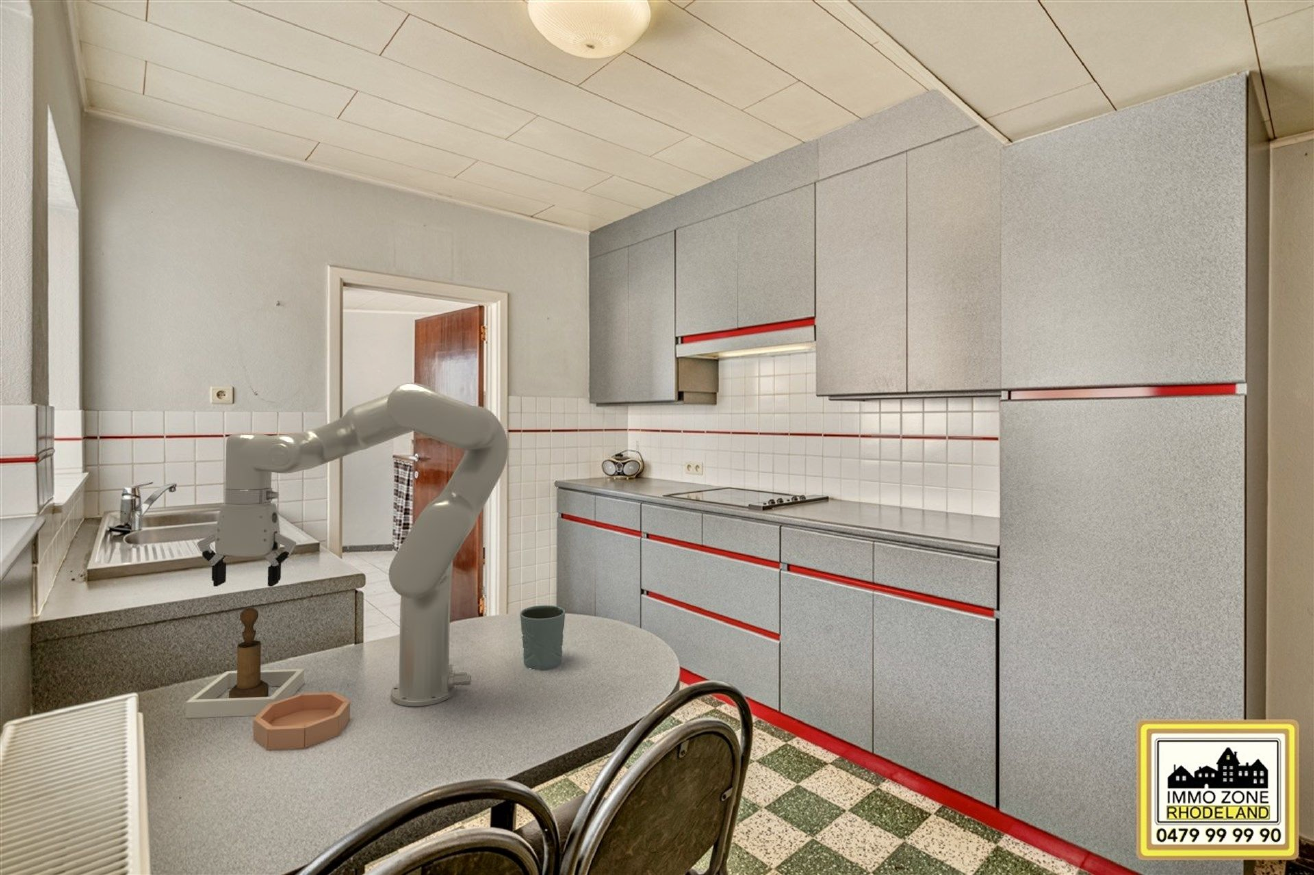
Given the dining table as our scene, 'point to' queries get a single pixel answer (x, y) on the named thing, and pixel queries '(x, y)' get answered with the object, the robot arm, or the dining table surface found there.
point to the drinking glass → (542, 636)
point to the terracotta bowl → (301, 720)
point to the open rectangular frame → (209, 706)
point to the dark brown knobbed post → (249, 661)
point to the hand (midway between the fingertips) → (246, 584)
